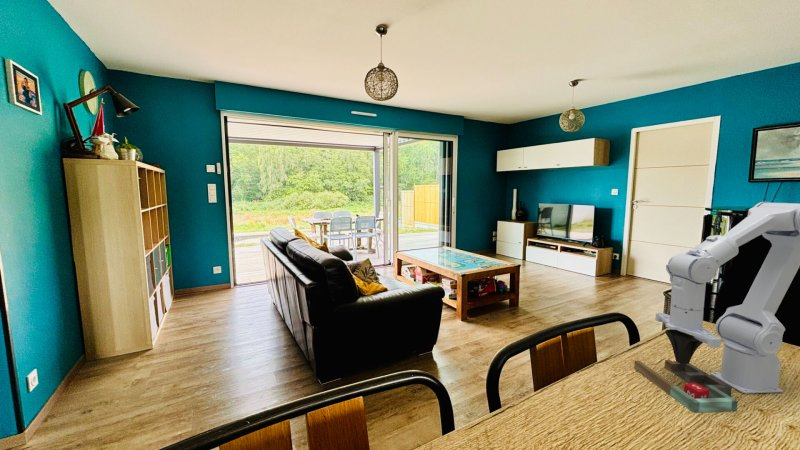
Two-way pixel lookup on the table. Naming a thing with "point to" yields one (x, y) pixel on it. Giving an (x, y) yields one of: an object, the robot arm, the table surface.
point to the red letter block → (696, 390)
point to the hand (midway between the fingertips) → (682, 362)
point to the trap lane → (690, 373)
